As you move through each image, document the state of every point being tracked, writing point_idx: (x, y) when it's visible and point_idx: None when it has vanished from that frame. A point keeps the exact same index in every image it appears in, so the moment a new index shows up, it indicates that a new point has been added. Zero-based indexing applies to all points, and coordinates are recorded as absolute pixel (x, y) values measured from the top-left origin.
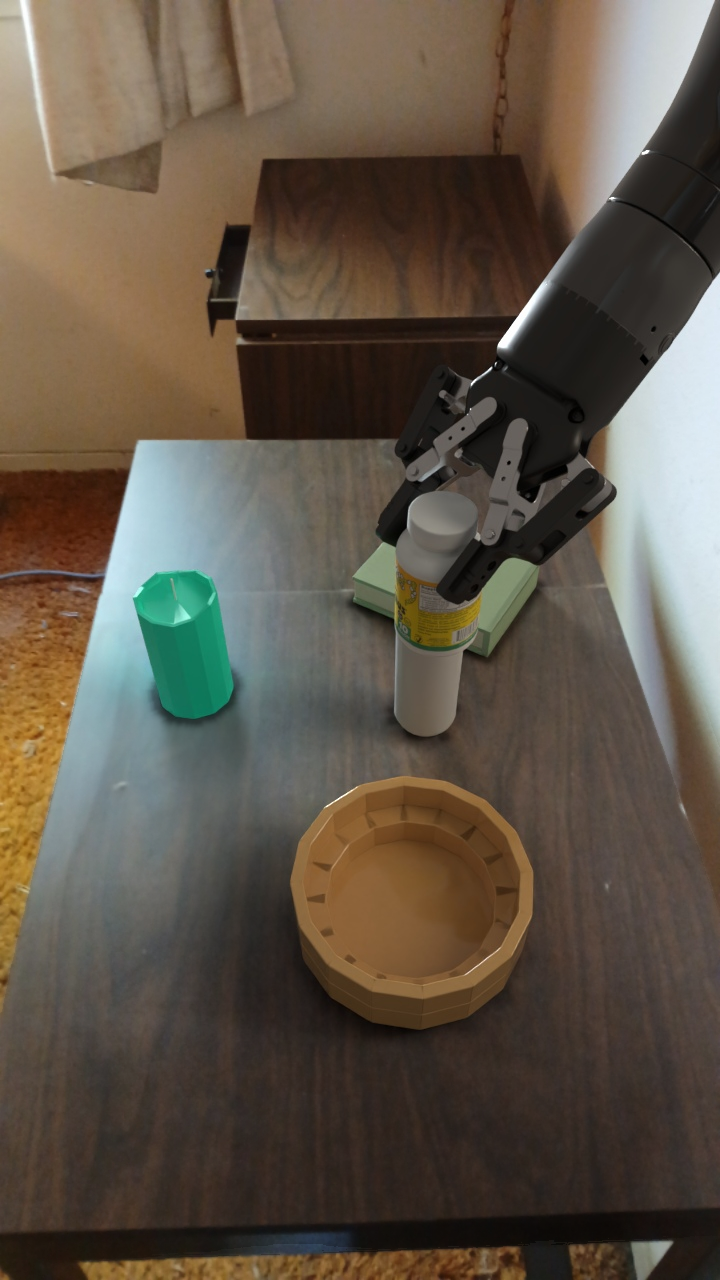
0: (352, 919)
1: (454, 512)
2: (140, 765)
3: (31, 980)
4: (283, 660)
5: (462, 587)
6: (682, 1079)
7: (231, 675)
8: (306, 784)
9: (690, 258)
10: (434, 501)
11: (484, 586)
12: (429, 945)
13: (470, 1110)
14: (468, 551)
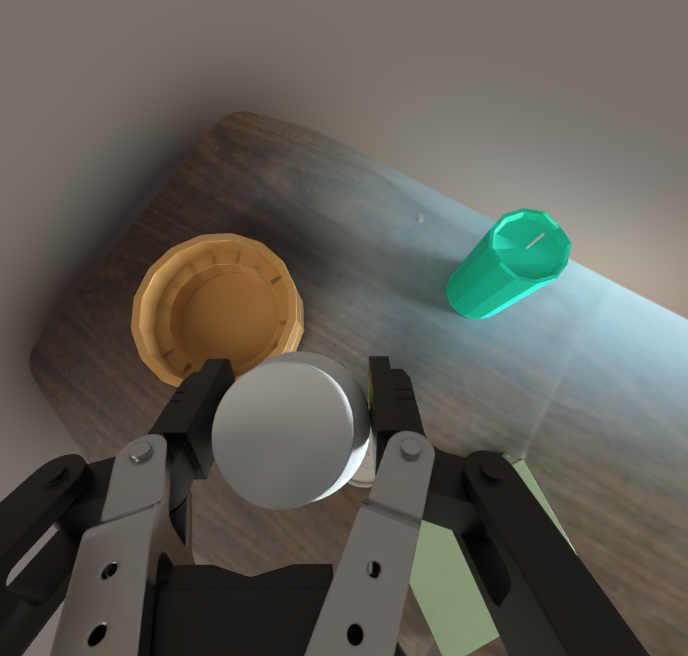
0: (250, 289)
1: (265, 449)
2: (428, 234)
3: (327, 141)
4: (469, 362)
5: (185, 382)
6: (62, 392)
7: (467, 312)
8: (353, 317)
9: None
10: (318, 436)
11: (443, 574)
12: (208, 318)
13: (131, 287)
14: (187, 412)
